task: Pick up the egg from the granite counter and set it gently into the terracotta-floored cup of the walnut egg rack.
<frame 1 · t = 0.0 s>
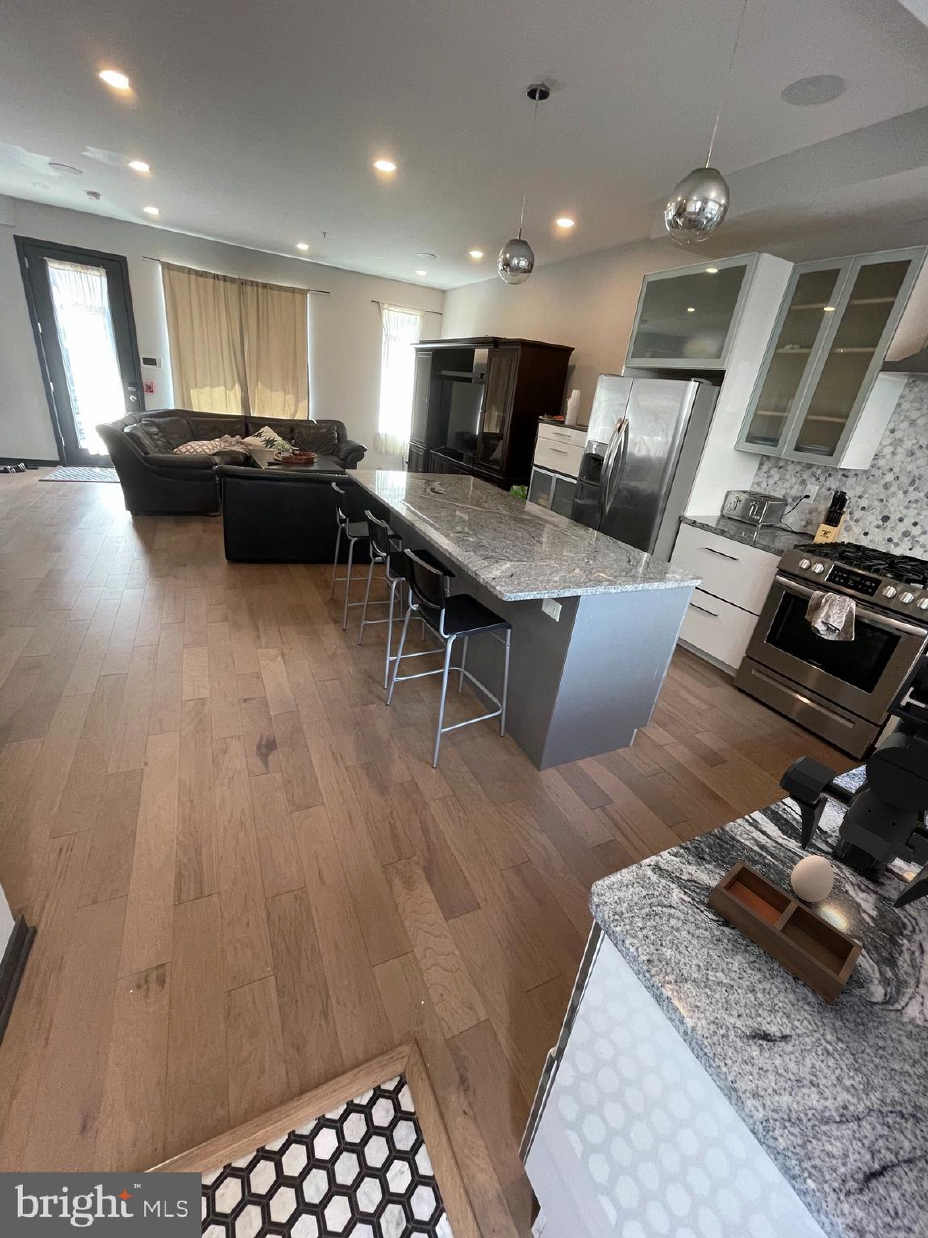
hand: (847, 875, 58), 15 cm above the counter, tool pointing down, fingers open, 9 cm apart
egg: (801, 897, 73), on the counter
egg rack: (775, 933, 67), on the counter
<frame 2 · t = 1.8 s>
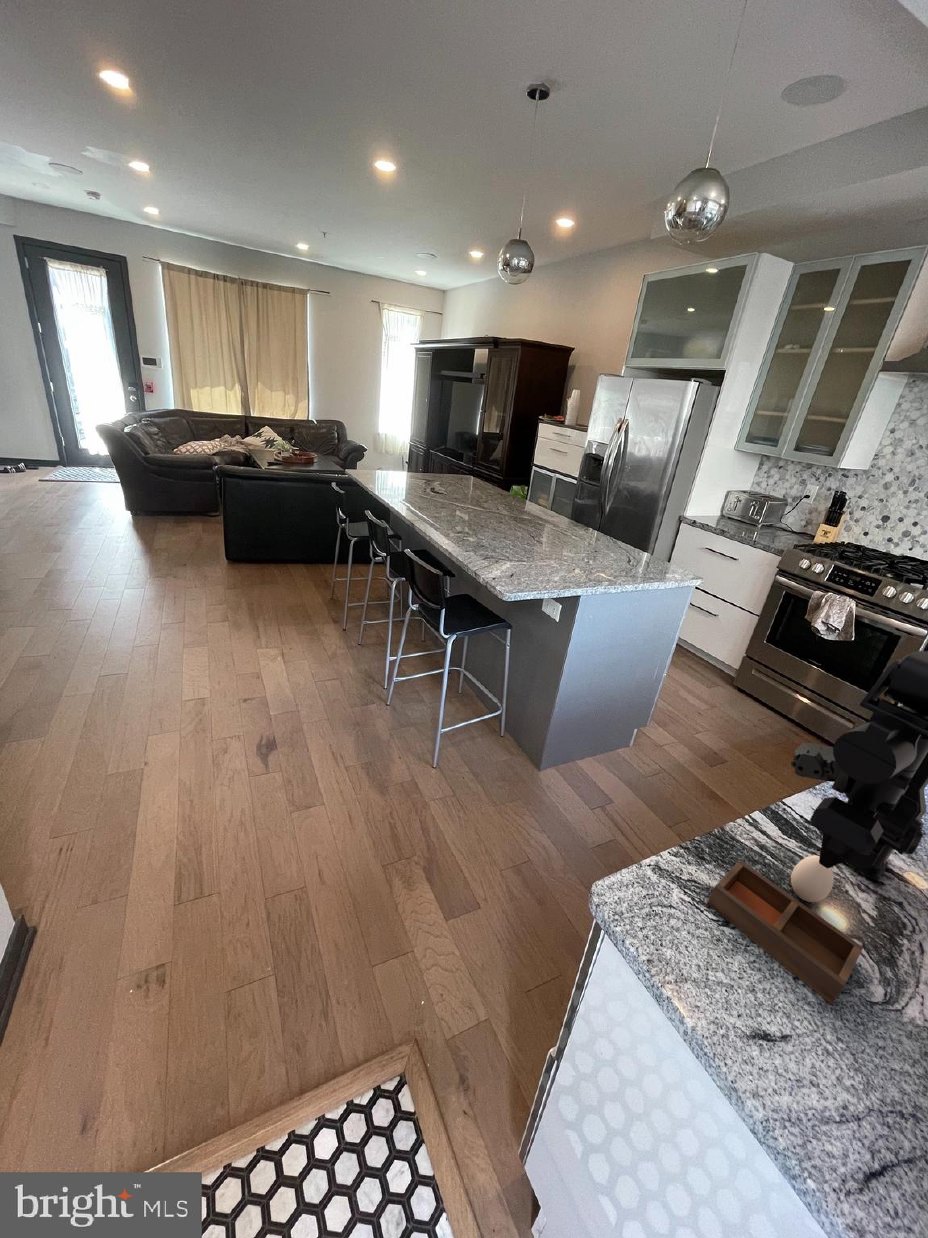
hand: (834, 849, 68), 11 cm above the counter, tool pointing down, fingers open, 9 cm apart
nothing on the counter moved.
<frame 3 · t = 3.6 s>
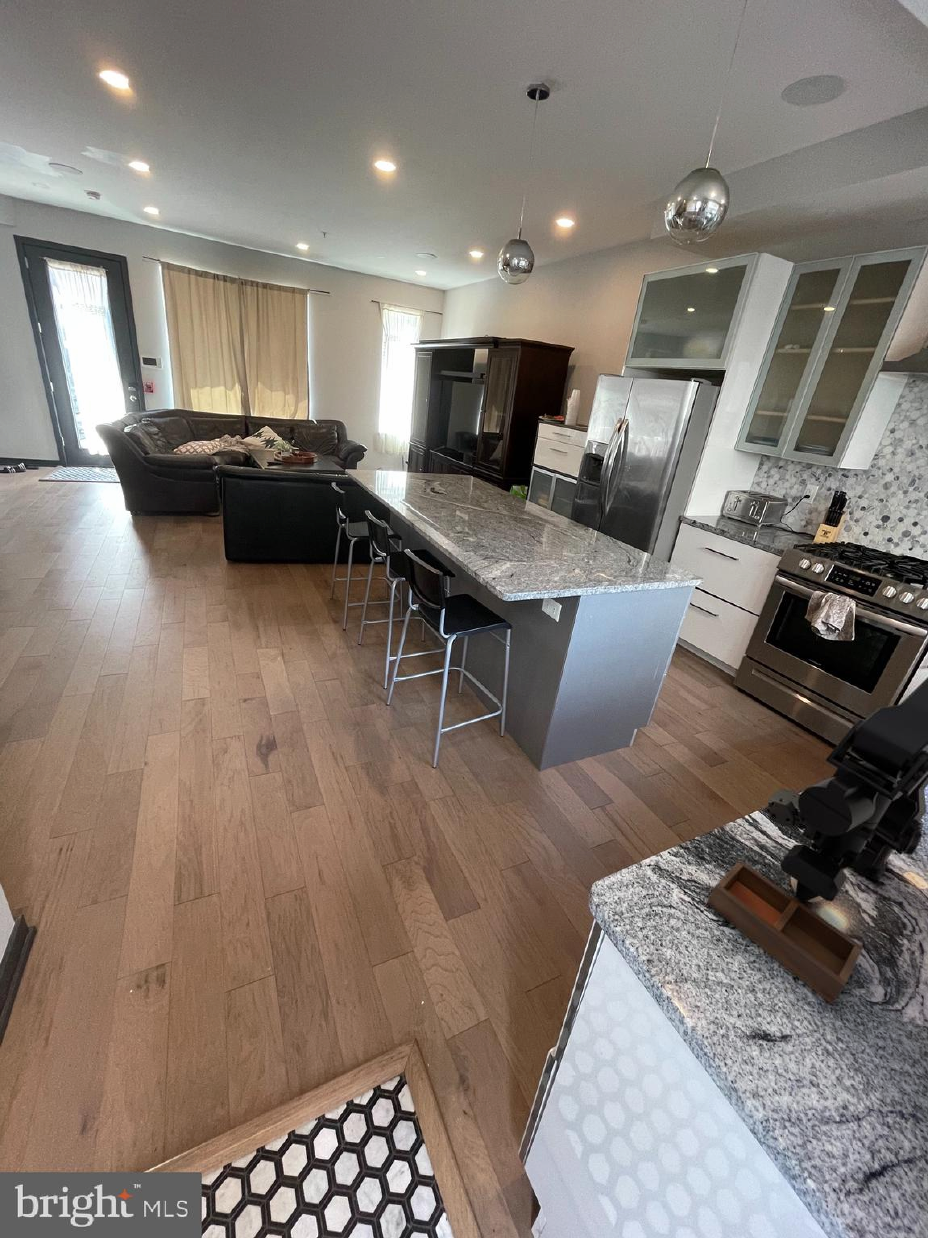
hand: (805, 890, 73), 1 cm above the counter, tool pointing down, fingers closed on egg, 4 cm apart
egg: (801, 897, 73), on the counter, touching gripper
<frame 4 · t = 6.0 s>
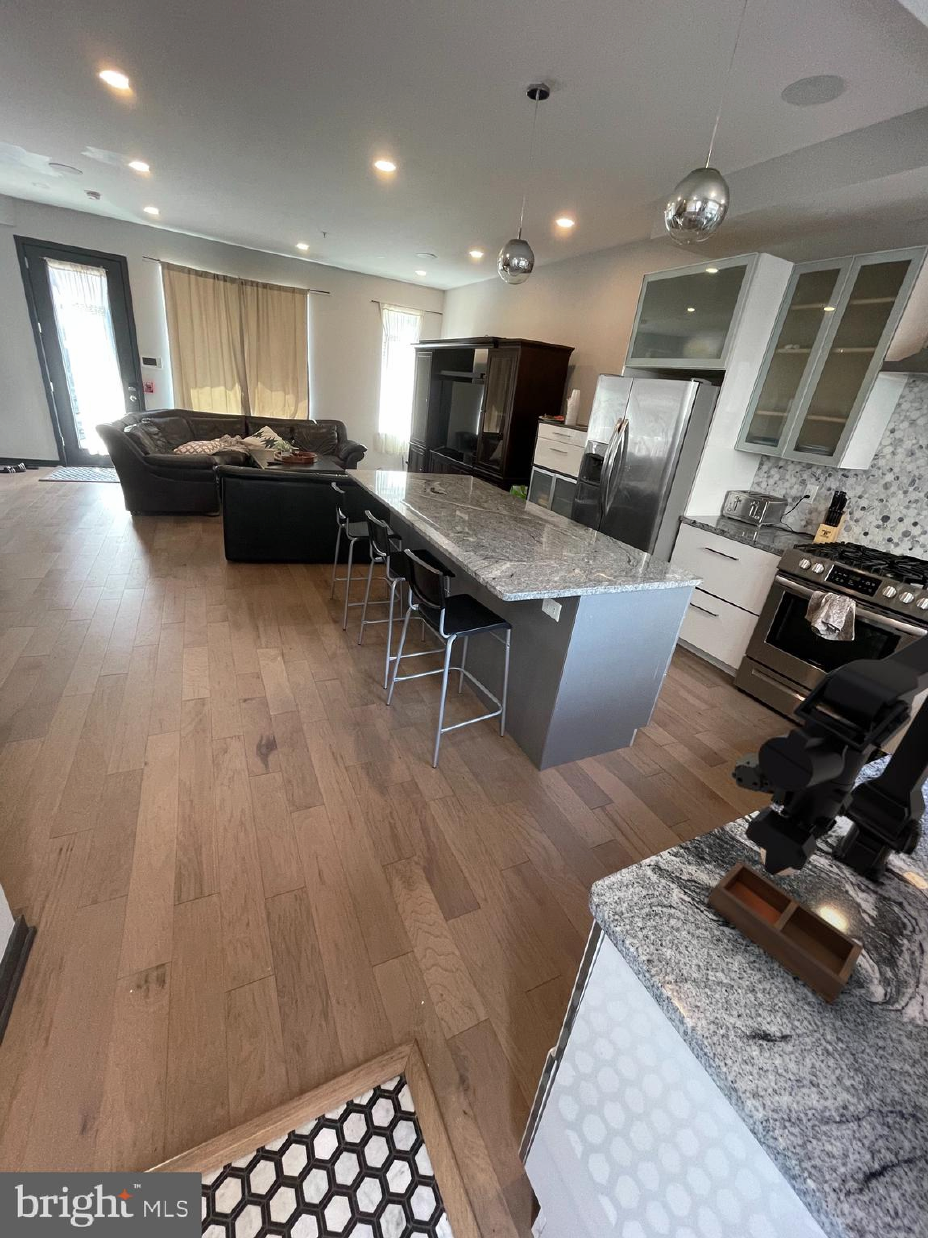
hand: (776, 863, 66), 9 cm above the counter, tool pointing down, fingers closed on egg, 4 cm apart
egg: (772, 871, 67), point 8 cm above the counter, touching gripper
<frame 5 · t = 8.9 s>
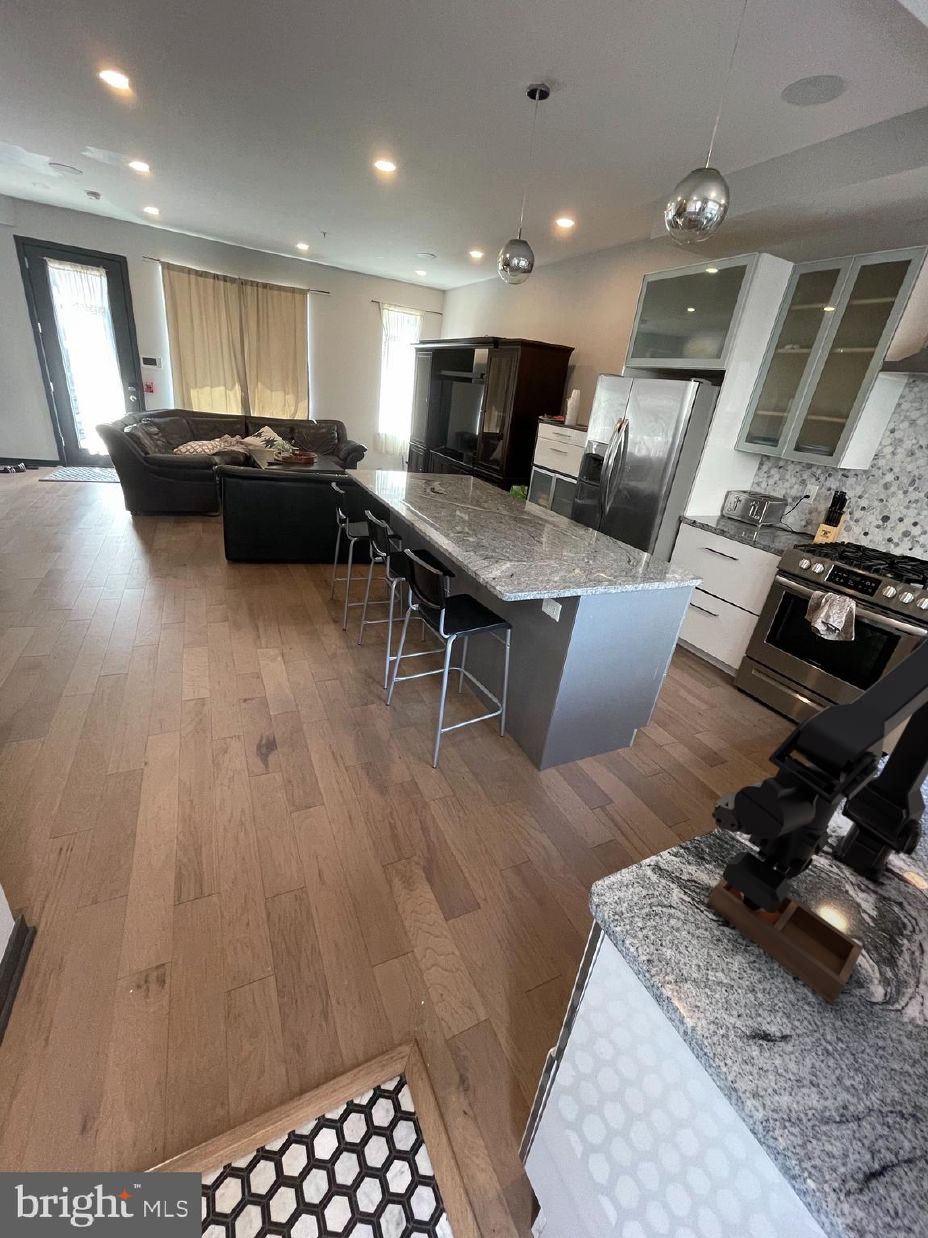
hand: (754, 900, 69), 2 cm above the counter, tool pointing down, fingers closed on egg, 4 cm apart
egg: (751, 907, 69), point 1 cm above the counter, touching gripper
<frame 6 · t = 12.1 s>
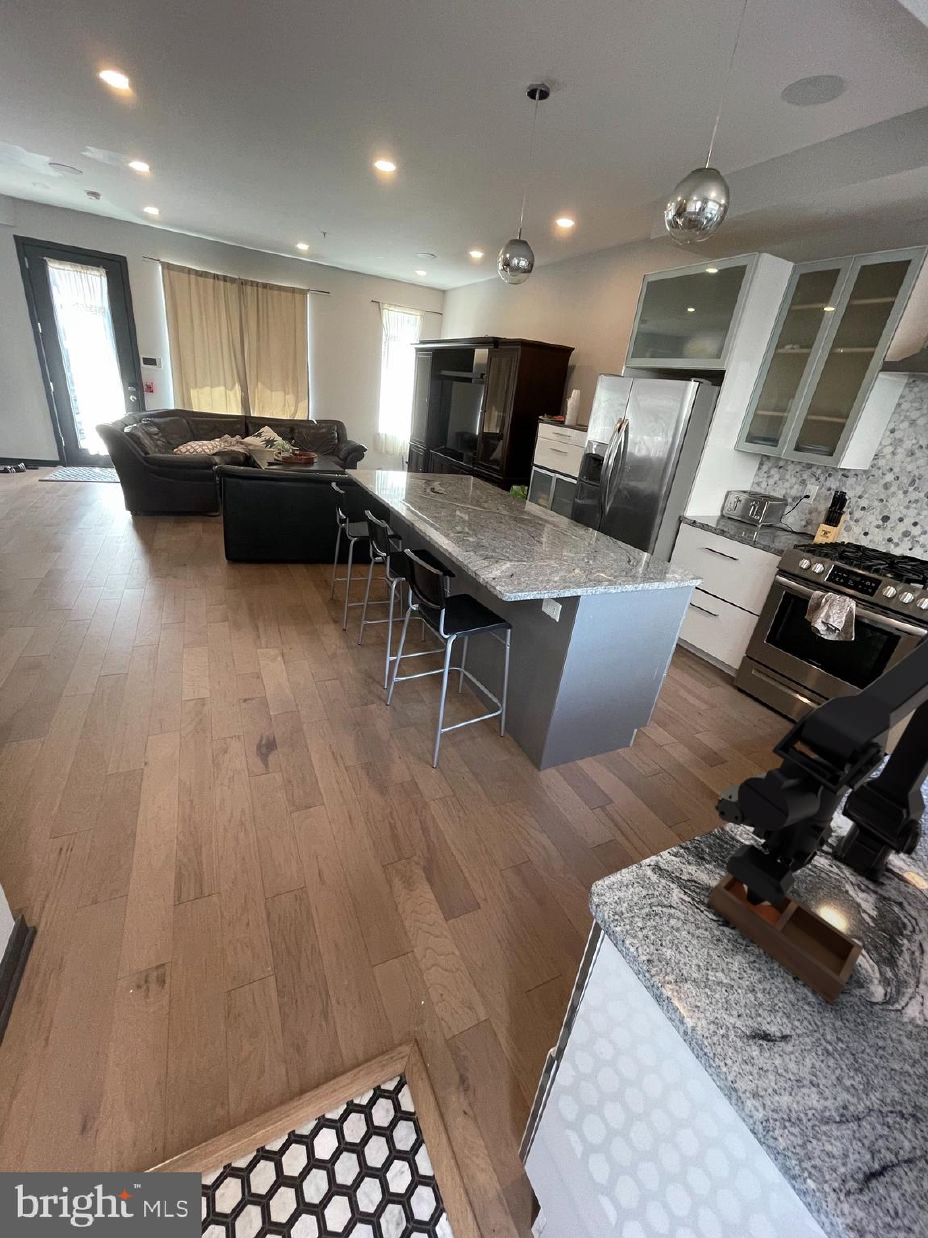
hand: (758, 893, 68), 4 cm above the counter, tool pointing down, fingers closed on egg, 5 cm apart
egg: (754, 900, 69), point 2 cm above the counter, touching gripper
when the fingers open (4 cm above the counter, at t = 14.3 s): egg drops 2 cm, resting on egg rack.
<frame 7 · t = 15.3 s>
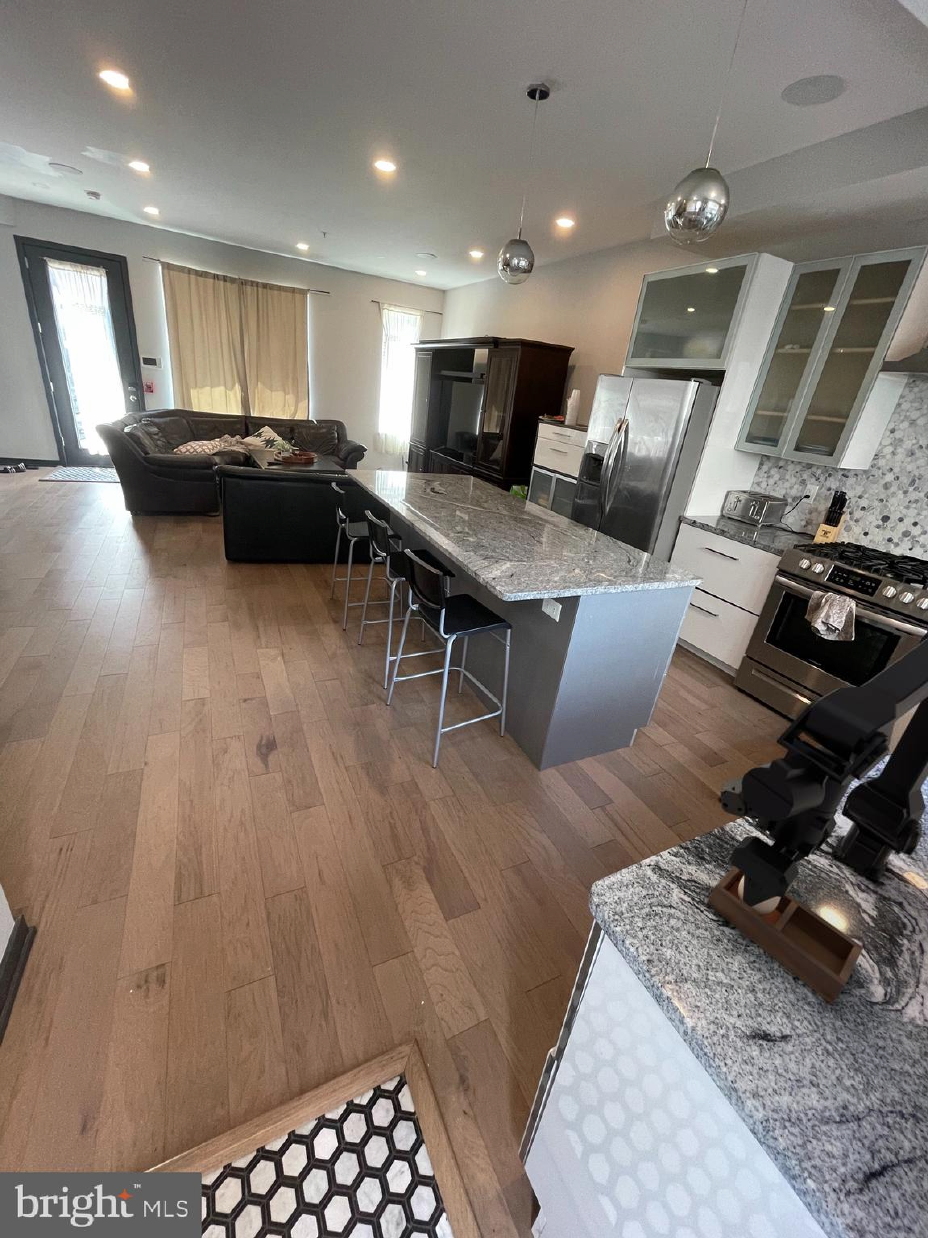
hand: (761, 886, 67), 5 cm above the counter, tool pointing down, fingers open, 9 cm apart
egg: (749, 910, 69), point 1 cm above the counter, touching egg rack
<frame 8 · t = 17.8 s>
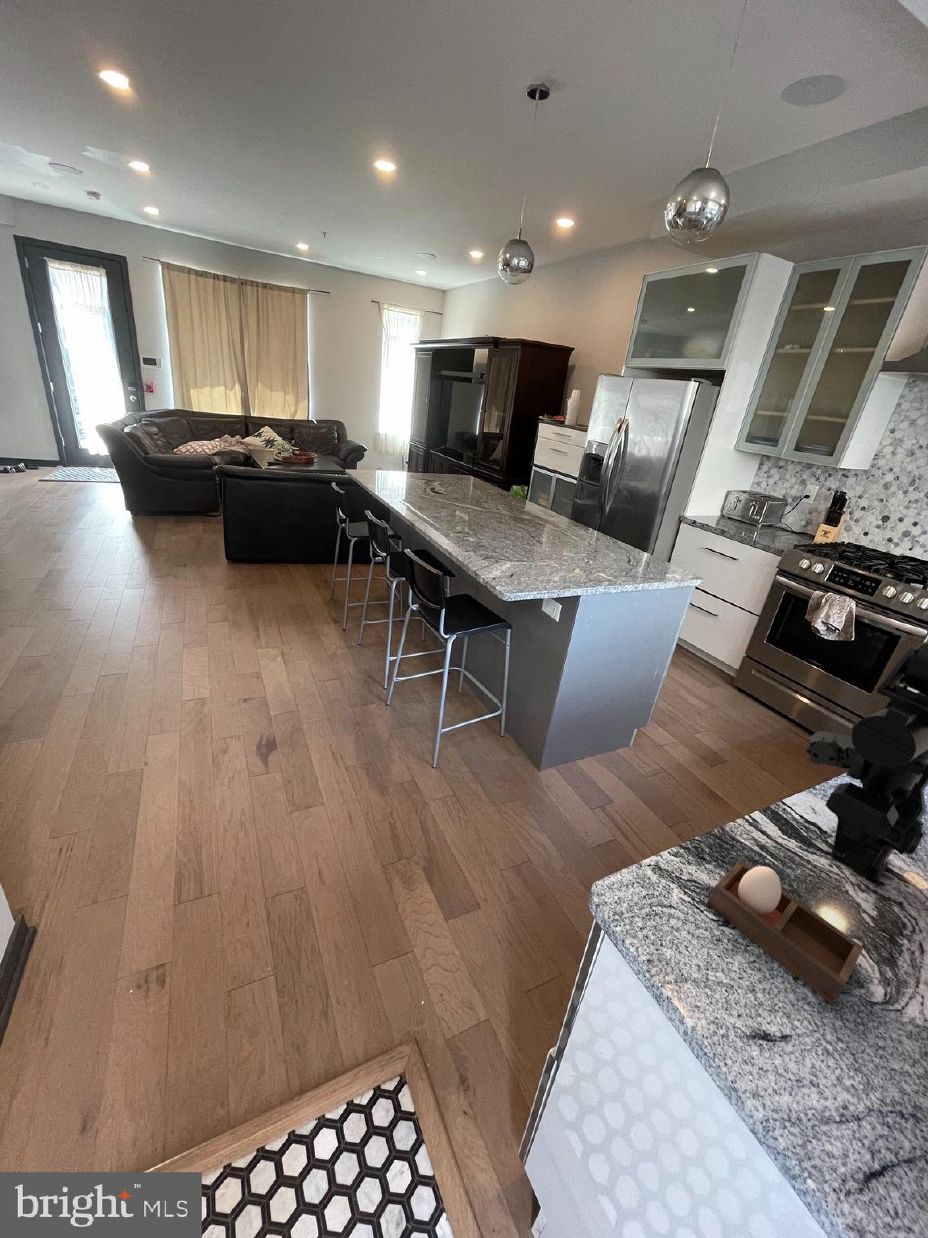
hand: (848, 836, 68), 12 cm above the counter, tool pointing down, fingers open, 9 cm apart
nothing on the counter moved.
at the end: egg 0.2 cm from the target spot in the egg rack, point 0.5 cm above the egg rack's base; the gripper is holding nothing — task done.
